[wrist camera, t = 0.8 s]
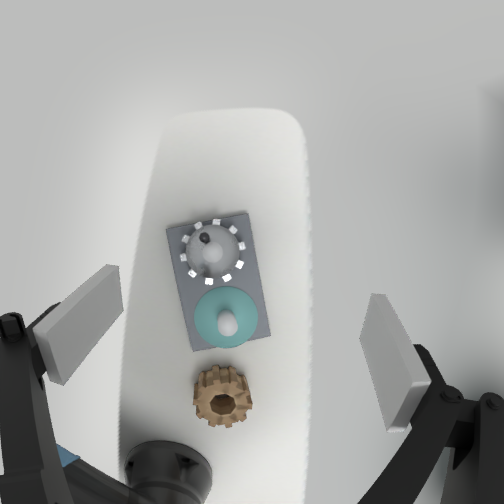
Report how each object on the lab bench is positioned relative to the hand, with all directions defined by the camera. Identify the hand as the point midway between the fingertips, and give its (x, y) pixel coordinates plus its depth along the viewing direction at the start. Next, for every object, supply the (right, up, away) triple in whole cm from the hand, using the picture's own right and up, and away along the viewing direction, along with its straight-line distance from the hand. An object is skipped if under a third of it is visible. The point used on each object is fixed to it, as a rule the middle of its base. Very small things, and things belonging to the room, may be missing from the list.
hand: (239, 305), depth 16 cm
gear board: (-4, -2, +28) cm, 29 cm away
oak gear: (-4, -18, +29) cm, 34 cm away
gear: (-5, +3, +26) cm, 27 cm away
